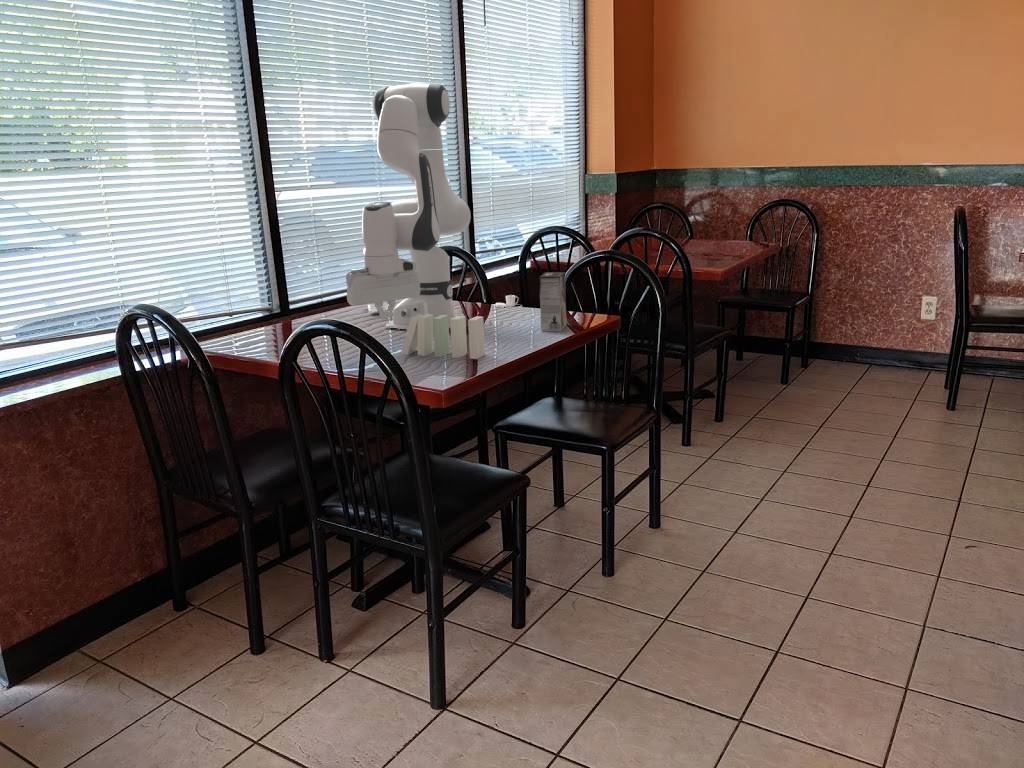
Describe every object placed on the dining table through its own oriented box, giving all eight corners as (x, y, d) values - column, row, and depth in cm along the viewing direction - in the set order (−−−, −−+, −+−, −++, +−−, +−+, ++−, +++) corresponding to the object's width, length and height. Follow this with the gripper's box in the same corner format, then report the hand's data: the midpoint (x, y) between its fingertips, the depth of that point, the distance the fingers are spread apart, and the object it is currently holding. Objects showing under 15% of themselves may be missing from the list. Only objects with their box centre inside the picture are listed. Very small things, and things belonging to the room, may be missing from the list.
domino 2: (417, 355, 216) (417, 317, 213) (426, 350, 221) (426, 314, 218) (424, 356, 216) (424, 318, 213) (432, 351, 220) (433, 314, 217)
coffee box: (545, 325, 249) (544, 271, 245) (566, 325, 248) (565, 271, 243) (540, 331, 240) (539, 276, 236) (562, 331, 239) (561, 276, 235)
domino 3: (434, 356, 215) (432, 318, 212) (443, 352, 219) (441, 314, 216) (441, 356, 214) (439, 318, 211) (450, 352, 218) (448, 315, 216)
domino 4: (452, 357, 213) (450, 319, 210) (460, 353, 217) (458, 315, 215) (459, 358, 212) (457, 319, 209) (467, 353, 216) (465, 315, 214)
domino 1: (400, 351, 218) (410, 317, 214) (409, 347, 222) (419, 314, 219) (407, 355, 217) (417, 320, 214) (416, 350, 222) (426, 317, 218)
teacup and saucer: (493, 309, 280) (493, 297, 278) (501, 305, 287) (500, 293, 286) (518, 310, 277) (517, 298, 276) (525, 306, 284) (524, 294, 283)
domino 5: (470, 358, 211) (468, 320, 208) (477, 354, 215) (476, 316, 213) (477, 359, 210) (475, 320, 208) (484, 354, 215) (483, 316, 212)
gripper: (351, 271, 208) (355, 325, 211) (421, 262, 219) (424, 314, 223) (340, 269, 213) (345, 322, 216) (409, 261, 224) (413, 311, 228)
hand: (386, 318), depth 220 cm, fingers closed
